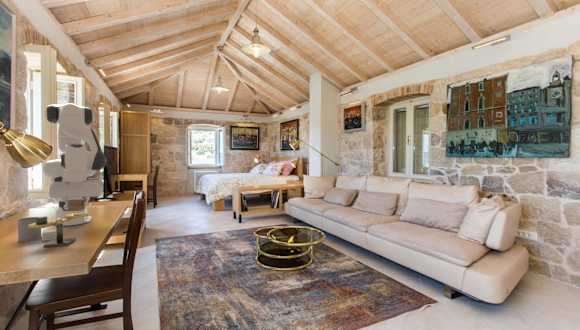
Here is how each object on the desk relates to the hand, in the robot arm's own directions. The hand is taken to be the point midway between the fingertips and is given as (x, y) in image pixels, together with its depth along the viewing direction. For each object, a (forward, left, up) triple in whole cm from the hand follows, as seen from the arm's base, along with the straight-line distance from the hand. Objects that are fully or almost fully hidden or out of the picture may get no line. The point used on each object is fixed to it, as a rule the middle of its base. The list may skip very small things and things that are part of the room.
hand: (76, 206), depth 132 cm
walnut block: (0, 0, -2) cm, 2 cm away
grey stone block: (-11, -15, -17) cm, 25 cm away
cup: (-14, -24, -18) cm, 33 cm away
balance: (0, -7, -17) cm, 18 cm away
